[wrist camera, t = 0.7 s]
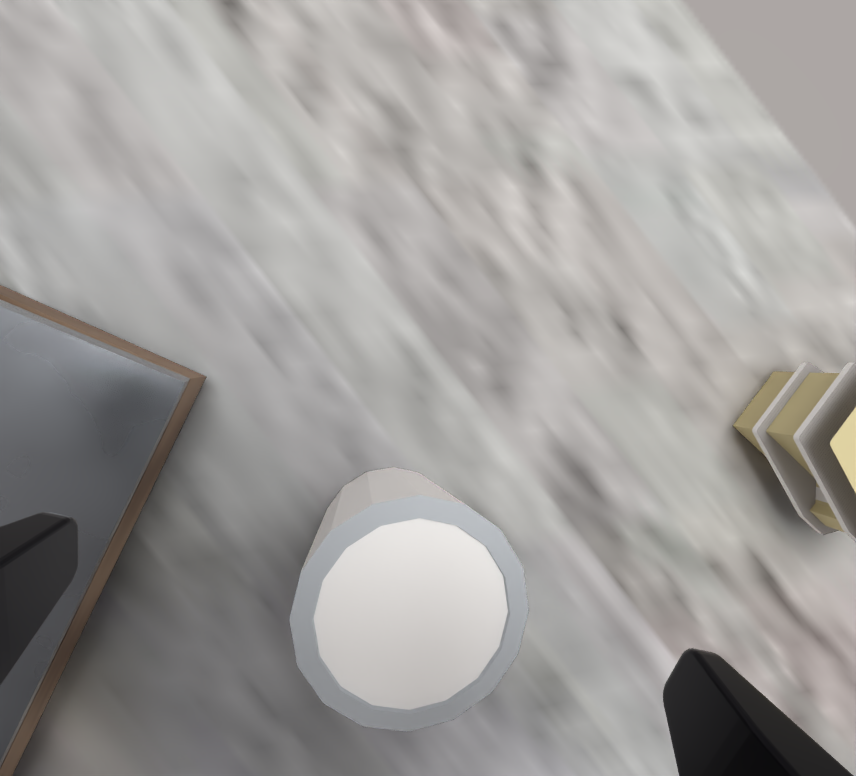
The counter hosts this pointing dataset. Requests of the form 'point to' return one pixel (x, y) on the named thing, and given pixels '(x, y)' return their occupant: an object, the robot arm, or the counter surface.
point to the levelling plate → (70, 458)
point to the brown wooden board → (126, 524)
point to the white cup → (406, 604)
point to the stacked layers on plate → (810, 441)
